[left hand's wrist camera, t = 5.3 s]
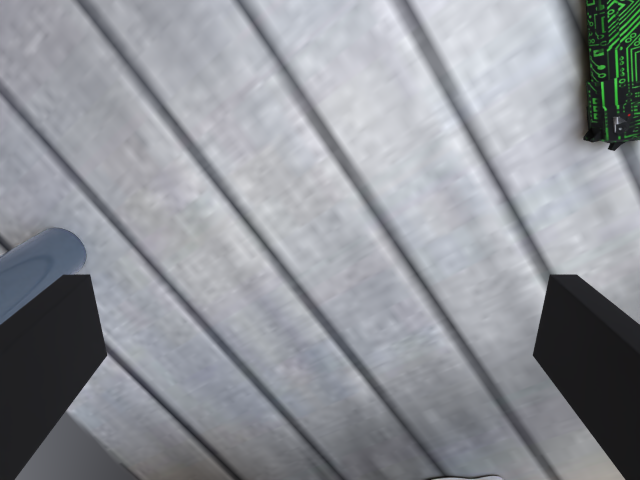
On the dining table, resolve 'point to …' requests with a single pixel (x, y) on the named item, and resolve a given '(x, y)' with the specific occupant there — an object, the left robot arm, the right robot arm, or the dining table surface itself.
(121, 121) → the dining table surface
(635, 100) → the handgun
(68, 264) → the grey cylinder
